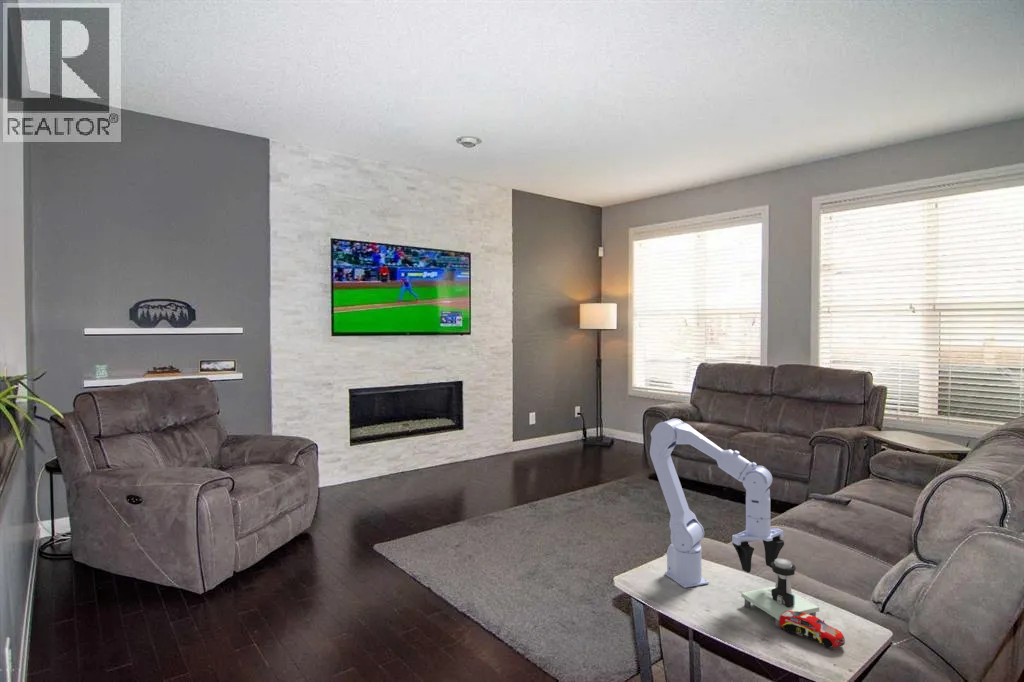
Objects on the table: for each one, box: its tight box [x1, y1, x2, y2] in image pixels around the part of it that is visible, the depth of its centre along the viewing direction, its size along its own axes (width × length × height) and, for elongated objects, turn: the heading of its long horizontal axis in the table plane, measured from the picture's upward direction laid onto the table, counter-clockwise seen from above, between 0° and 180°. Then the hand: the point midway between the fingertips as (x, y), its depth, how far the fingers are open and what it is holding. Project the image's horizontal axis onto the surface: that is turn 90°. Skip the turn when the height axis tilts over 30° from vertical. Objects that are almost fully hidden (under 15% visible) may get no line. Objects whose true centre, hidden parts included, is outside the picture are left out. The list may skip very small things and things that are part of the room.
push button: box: [768, 557, 796, 608], centre depth 131 cm, size 7×5×10 cm
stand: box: [740, 585, 820, 629], centre depth 132 cm, size 12×12×3 cm
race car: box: [779, 611, 846, 649], centre depth 121 cm, size 13×5×4 cm, turn 37°
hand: (758, 568), depth 138 cm, fingers open, 7 cm apart
